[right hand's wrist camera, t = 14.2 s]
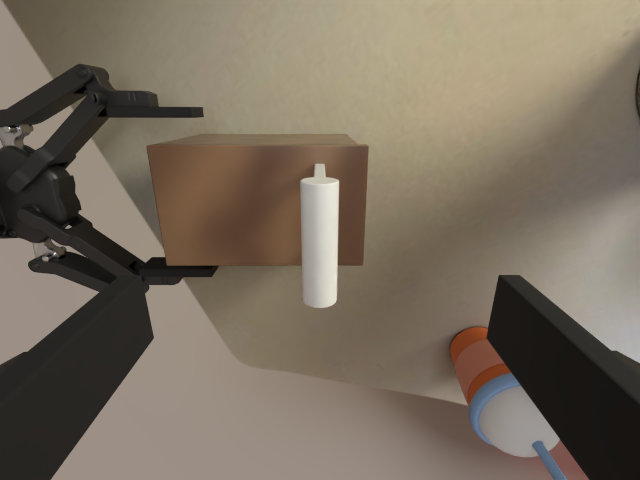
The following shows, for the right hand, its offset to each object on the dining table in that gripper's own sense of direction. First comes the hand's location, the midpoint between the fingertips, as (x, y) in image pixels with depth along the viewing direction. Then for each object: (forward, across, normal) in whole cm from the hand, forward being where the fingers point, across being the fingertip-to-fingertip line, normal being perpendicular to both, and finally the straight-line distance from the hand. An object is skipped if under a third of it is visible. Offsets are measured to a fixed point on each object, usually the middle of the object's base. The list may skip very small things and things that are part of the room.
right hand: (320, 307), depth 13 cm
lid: (+14, -4, 0) cm, 15 cm away
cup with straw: (+25, +20, -21) cm, 38 cm away
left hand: (+18, -10, 0) cm, 21 cm away
